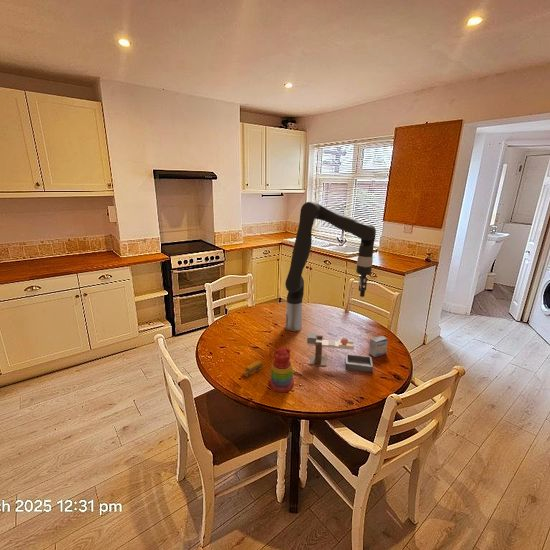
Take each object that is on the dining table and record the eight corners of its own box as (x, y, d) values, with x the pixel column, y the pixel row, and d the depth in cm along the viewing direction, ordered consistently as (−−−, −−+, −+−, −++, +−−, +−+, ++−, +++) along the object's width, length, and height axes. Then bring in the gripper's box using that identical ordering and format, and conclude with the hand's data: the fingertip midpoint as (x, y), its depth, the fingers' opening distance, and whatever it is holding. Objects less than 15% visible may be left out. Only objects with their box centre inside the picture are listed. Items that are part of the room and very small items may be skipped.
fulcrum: (309, 364, 143) (310, 342, 140) (310, 355, 151) (311, 334, 147) (326, 366, 141) (327, 343, 138) (327, 357, 149) (328, 335, 146)
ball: (340, 345, 140) (341, 339, 139) (340, 342, 143) (341, 336, 142) (347, 346, 139) (348, 340, 138) (347, 343, 142) (348, 336, 141)
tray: (345, 369, 139) (346, 363, 138) (345, 359, 148) (345, 353, 147) (372, 372, 137) (373, 366, 136) (370, 361, 145) (371, 356, 144)
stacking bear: (293, 377, 133) (293, 342, 128) (295, 392, 124) (296, 354, 119) (269, 378, 133) (268, 342, 128) (269, 393, 123) (269, 355, 118)
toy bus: (242, 375, 135) (241, 368, 134) (258, 366, 142) (258, 359, 141) (246, 378, 133) (246, 371, 132) (262, 369, 140) (262, 362, 139)
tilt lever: (307, 345, 142) (307, 337, 141) (308, 339, 147) (308, 332, 146) (353, 350, 137) (354, 342, 136) (353, 344, 143) (353, 336, 142)
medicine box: (374, 357, 149) (376, 342, 146) (368, 353, 153) (369, 338, 150) (386, 353, 152) (388, 338, 150) (379, 349, 156) (381, 334, 154)
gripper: (356, 260, 161) (353, 288, 166) (358, 267, 148) (354, 297, 152) (370, 261, 160) (367, 289, 164) (373, 268, 146) (370, 299, 151)
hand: (361, 293), depth 158 cm, fingers open, 8 cm apart
